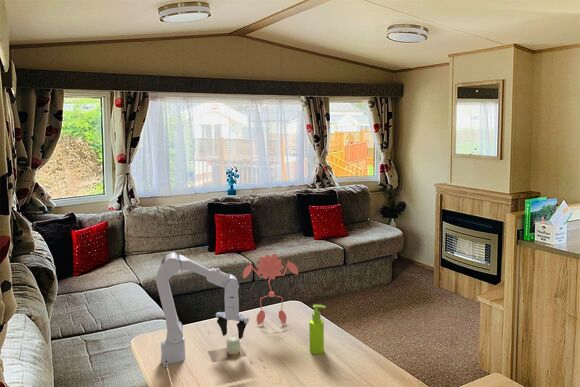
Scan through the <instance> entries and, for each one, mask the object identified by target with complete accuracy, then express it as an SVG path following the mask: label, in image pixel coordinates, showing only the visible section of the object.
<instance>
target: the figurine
mask: <svg viewBox="0 0 580 387" xmlns="http://www.w3.org/2000/svg"><path fill="white" fill-rule="evenodd" d="M258 259H259V262H258V263H257V264H256V266H255V267H256V268H257V270H256V269H255V268H254V267H253V265H252V264H251V263H250V264H248V265H247V266H246V267H245V268H244V269H243V271H242V278H243V279H245V278H247V277H248V276H249V275H250V274H251V273H252V270H253V271H254V272H255V274H256V275H258V277H259V278H263V280H267V279H268V281H267V283H268V287H269V290H270V291H269V292H268V295H265V296H263V297H260V299H259V302H260V311H259V312H258V313H257V316H256V323H257V326H260V325H261V324H262V323H263V322H264V320H265V319H266V312H265V311H264V310H263V308H262V299H264V298H267V297H270V298H273V297H278V298H281V306H283V304H284V303H283V302H284V298H283V297H282V296H279V295H275V291H272V287H271V284H270V281H271V280H275V279H276V277H282V276H285V274H286V272H287V269H288V270H289V271H290V272H291V273H292V274H294V275H297V276H298V275H299V268H298V267H297V266H296V264H295V263H293V262H291V261H287V265H286V267H285V266H284V265H283V264H282V259H281V258H279V259H278V256H277V254H276V253H273V254H272V255H269V254H265V256H260V257H258ZM284 268H285V270H284V272H283V274H282V272H281V271H282V270H283V269H284ZM261 274H262V275H261ZM278 319H279V320H280V322H282V324H284V325H285V324H287V314H286V313H285V311H284V310H283V307H281V309H280V310H279V311H278ZM290 330H291V328H289V329H287V330H283V331H281V333H284V332H287V331H290ZM263 333H265V334H266V333H267V331H266V332H264V331H263ZM276 333H277V334H278V333H280V331H278V332H275V334H276Z"/></svg>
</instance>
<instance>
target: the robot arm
mask: <svg viewBox="0 0 580 387" xmlns="http://www.w3.org/2000/svg"><path fill="white" fill-rule="evenodd" d="M179 271H180V273H181V272H184V271H190V272H193V273H195V274H198V275H201V276H203V277H205V278H206V281H207V282H209V283H210V284H213V285H215V286H218V287H220V288H224V294H223V295H224V298H223V299H224V311H222V312H221V311H218V312H216V313H215V318H216V319H217V320H216V323H217V325H218V326H219V328H220V330H221V334H222V336H227V334H228V321H236V322H238V323H236V328H237V331H238V332H237V333H238V338H239V340H241V339H243V338H244V332H245V329H246V326H247V324H248V323H249V321H250V320H249V316H246V315H243V314H240V304H239V302H240V301H239V300H240V298H239V288H240V284H239V280H238V279H237V277H236V276H235V275H234V274H230V273H229V272H228V273H226V272H223V271H221V269H220V268H219V267H217V268H215V267H212V268H208V267H206V266H204V265H203V264H200V263H199V262H196V261H194V260H192V259H191V258H188V257H186V256H185V255H183V254H178V253H177V252H173V251H172V252H168V253H166V254H165V256H164V257H163V258H162V259H161V262H160V264H159V267H158V270H157V272H156V274H155V283H156V288H157V291H158V296H159V299H160V303H161V307H162V310H163V314H164V319H165V325H166V338H165V340H164V341H160V352H161V356H160V357H161V358H160V359H161V362H162V366H163V367H164V368H166V367H165V366H167V365H168V364H177V363H180V362H183V361H185V360H186V345H185V344H186V343H185V336H184V334H183V328H184V326H183V323H182V322H181V320H180V319H179V317H178V314H177V310H176V305H175V302H174V298H173V293H172V290H171V287H170V286H171V285H170V282H169V280H170V279H171V278H172V276H174V275H175V274H176V273H178V272H179Z"/></svg>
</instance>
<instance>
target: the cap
mask: <svg viewBox="0 0 580 387" xmlns="http://www.w3.org/2000/svg"><path fill="white" fill-rule="evenodd" d="M225 343H226V348H227V352H228V353H229V354H237V353H239V352H240V345H241V341H240V339H239V337H237V336H231V337H228V338H227V339H226V342H225Z"/></svg>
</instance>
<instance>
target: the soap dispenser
mask: <svg viewBox="0 0 580 387" xmlns="http://www.w3.org/2000/svg"><path fill="white" fill-rule="evenodd" d="M326 307H327V306H326V305H323V304H312V308H313V312H312V313H311V319H310V320H309V323H308V324H309V327H308V329H309V330H308V331H309V353H310V354H312V355H322V354H323V353H324V352H325V346H324V344H325V343H324V342H325V340H324V339H325V334H324V330H325V329H324V325H325V324H324V321H325V320H323V319H321V312H319V309H323V310H325V309H326Z"/></svg>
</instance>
